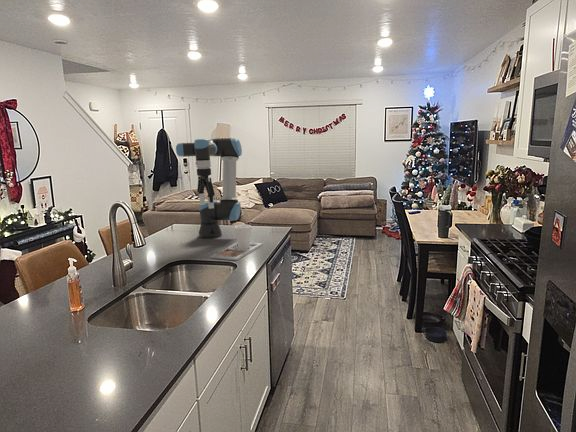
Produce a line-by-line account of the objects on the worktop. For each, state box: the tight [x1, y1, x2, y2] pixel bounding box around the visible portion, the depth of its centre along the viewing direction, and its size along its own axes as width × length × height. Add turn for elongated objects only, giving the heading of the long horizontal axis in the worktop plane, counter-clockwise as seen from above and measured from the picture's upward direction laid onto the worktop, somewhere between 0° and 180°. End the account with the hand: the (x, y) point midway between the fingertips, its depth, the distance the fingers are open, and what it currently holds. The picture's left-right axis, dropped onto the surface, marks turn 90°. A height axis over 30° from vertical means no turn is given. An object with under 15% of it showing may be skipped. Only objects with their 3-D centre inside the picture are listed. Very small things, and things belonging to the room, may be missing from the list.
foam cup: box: [234, 224, 252, 250], centre depth 225 cm, size 10×9×13 cm
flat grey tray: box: [210, 241, 263, 261], centre depth 220 cm, size 31×16×1 cm, turn 158°
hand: (206, 206), depth 213 cm, fingers open, 13 cm apart
